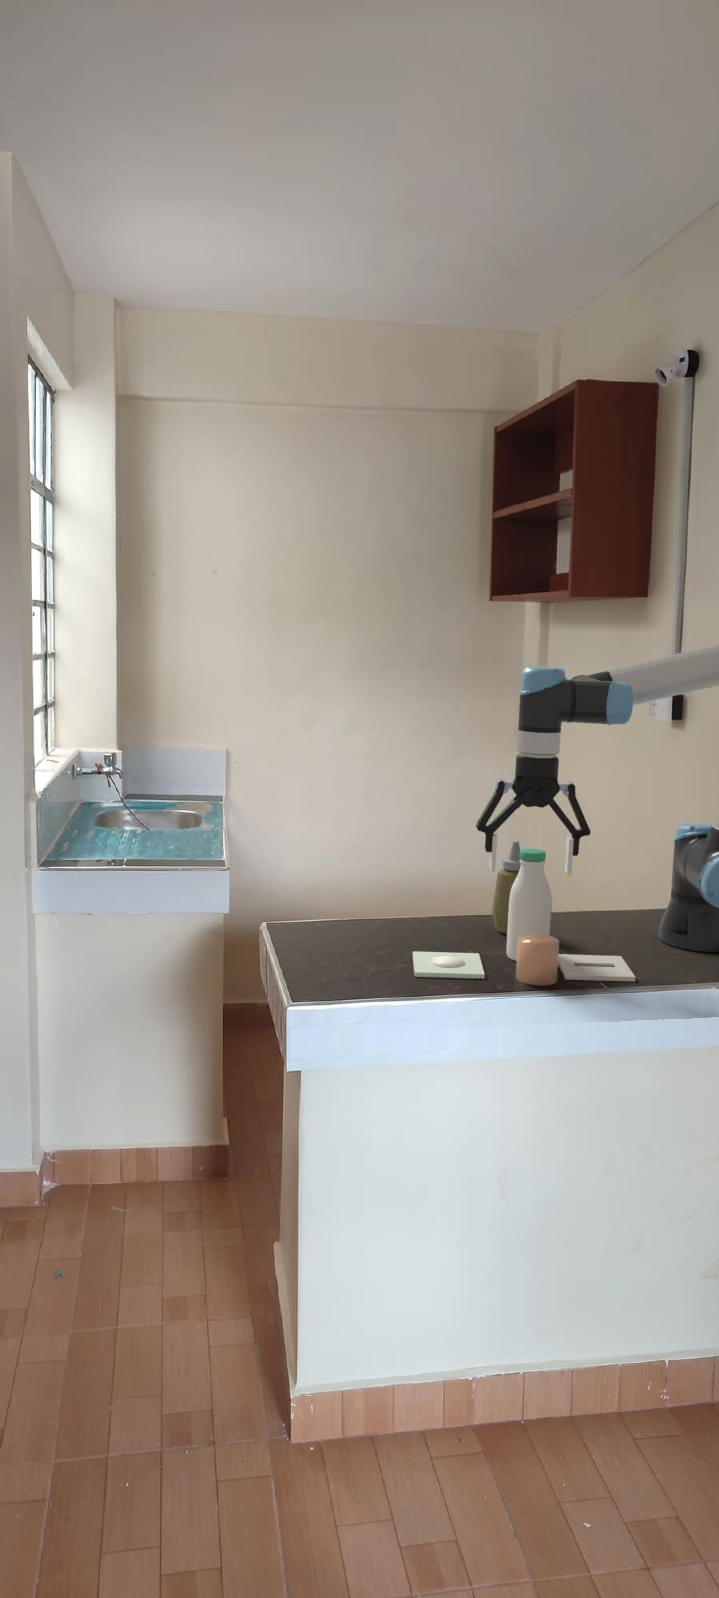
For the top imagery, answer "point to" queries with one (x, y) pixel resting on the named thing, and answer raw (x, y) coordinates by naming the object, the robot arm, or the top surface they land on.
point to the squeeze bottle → (505, 888)
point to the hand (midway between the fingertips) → (530, 871)
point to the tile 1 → (448, 965)
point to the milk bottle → (529, 900)
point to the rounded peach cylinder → (537, 959)
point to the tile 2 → (594, 968)
